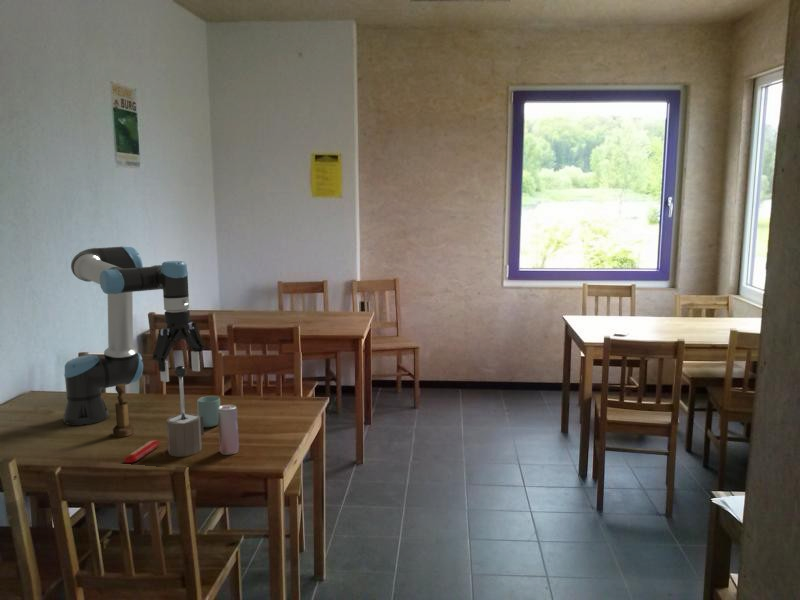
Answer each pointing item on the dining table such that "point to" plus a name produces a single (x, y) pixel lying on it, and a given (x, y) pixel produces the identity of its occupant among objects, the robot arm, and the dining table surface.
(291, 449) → the dining table surface
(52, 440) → the dining table surface
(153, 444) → the candy bar
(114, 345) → the robot arm
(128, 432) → the mortar and pestle
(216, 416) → the cup
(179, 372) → the joystick
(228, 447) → the beverage can
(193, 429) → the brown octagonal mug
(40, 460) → the dining table surface
